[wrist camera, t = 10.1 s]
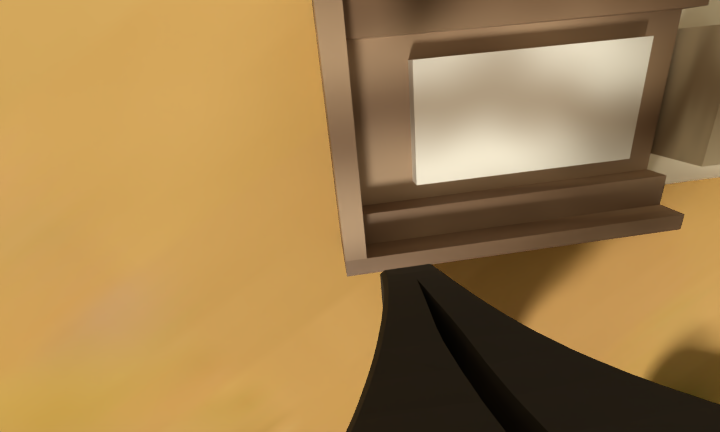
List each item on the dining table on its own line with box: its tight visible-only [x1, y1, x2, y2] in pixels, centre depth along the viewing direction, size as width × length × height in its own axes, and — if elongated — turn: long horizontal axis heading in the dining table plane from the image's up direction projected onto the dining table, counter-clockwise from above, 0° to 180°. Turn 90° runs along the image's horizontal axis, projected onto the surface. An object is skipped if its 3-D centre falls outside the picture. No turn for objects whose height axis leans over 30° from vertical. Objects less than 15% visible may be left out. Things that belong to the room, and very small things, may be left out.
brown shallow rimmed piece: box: [312, 0, 709, 276], centre depth 17 cm, size 12×17×3 cm
